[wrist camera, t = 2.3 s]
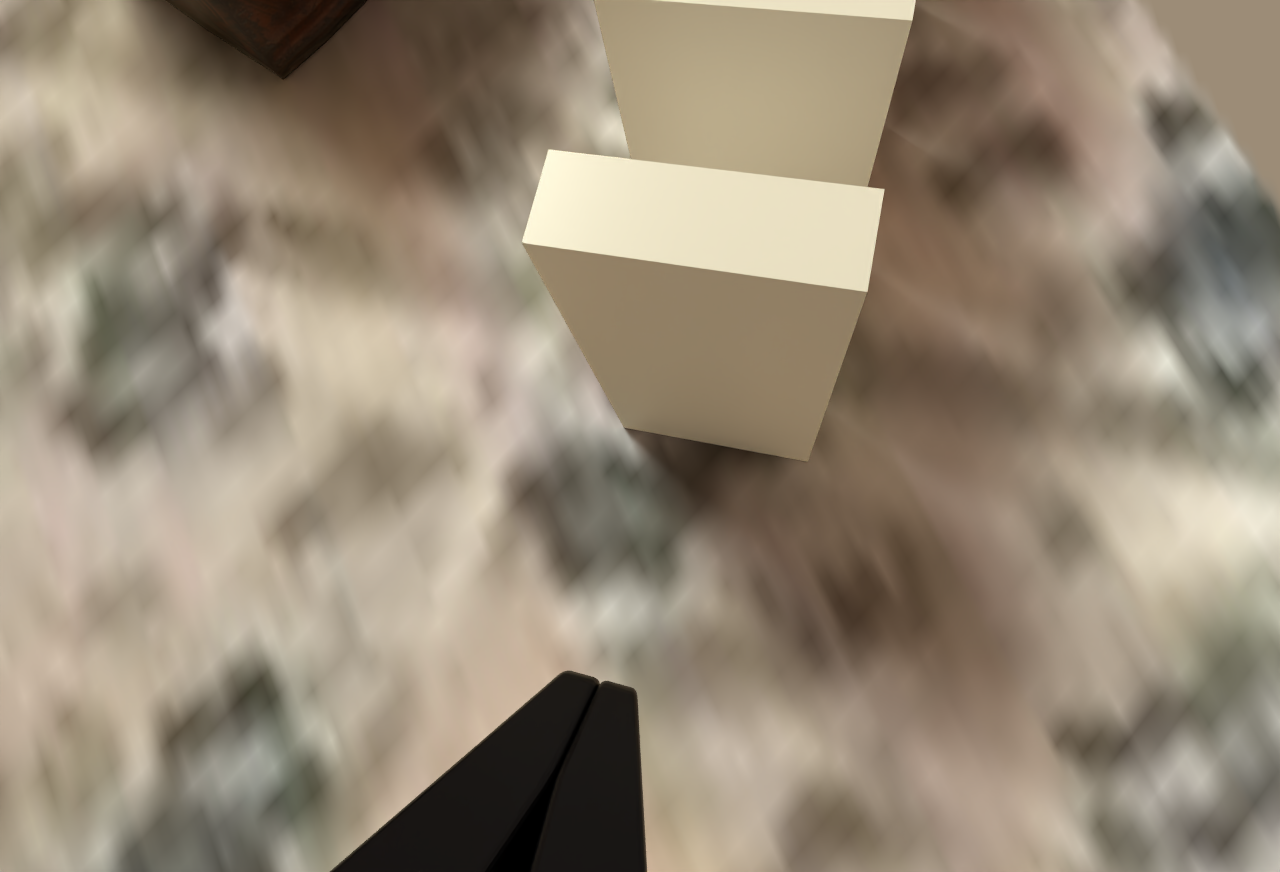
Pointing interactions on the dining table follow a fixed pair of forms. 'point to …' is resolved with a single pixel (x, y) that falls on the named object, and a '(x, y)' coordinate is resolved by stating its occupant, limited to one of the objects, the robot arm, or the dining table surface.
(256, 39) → the dark brown boxy piece
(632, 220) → the domino
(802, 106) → the domino
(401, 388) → the dining table surface
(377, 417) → the dining table surface
